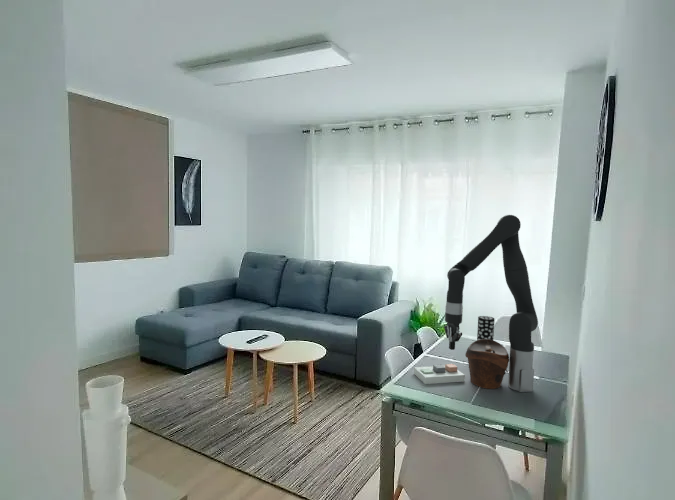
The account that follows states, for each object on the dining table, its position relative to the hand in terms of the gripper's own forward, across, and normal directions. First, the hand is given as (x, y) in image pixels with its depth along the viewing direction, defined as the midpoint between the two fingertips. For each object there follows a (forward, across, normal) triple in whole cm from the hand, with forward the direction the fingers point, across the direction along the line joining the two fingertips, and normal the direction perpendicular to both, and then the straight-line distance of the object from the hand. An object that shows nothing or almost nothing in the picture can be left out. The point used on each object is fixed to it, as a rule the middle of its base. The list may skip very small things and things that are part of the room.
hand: (451, 349), depth 179 cm
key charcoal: (+10, 0, +6) cm, 11 cm away
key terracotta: (+10, 0, 0) cm, 10 cm away
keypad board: (+13, 0, +6) cm, 14 cm away
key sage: (+11, 0, +12) cm, 17 cm away
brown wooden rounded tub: (+13, -10, -12) cm, 20 cm away
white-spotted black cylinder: (+13, +27, -35) cm, 46 cm away
